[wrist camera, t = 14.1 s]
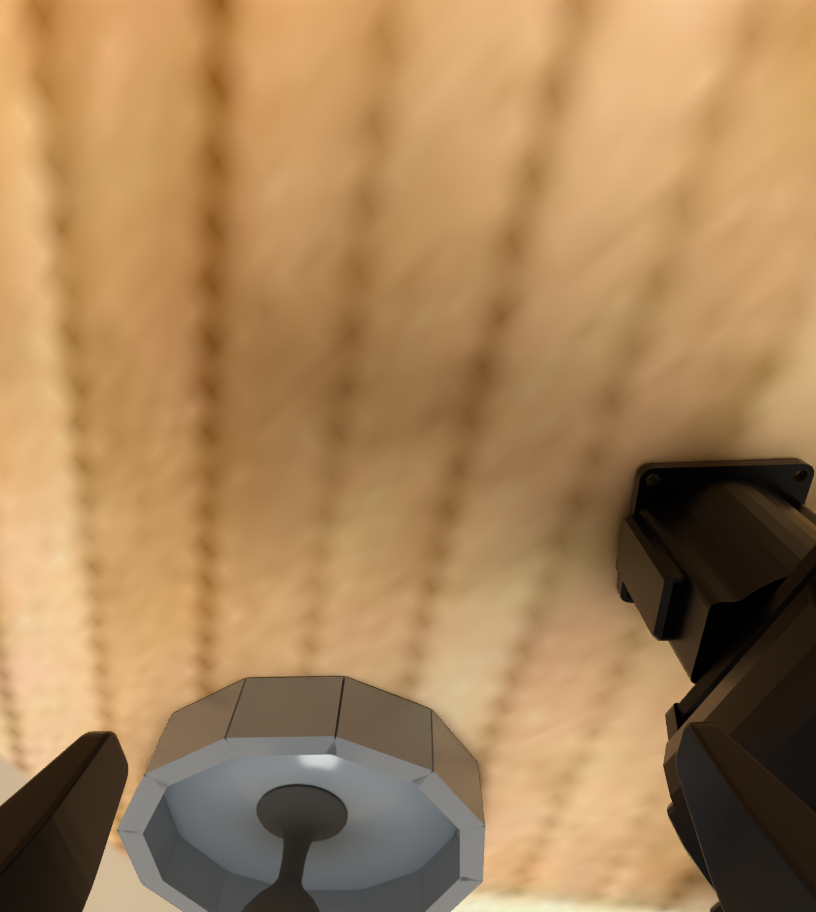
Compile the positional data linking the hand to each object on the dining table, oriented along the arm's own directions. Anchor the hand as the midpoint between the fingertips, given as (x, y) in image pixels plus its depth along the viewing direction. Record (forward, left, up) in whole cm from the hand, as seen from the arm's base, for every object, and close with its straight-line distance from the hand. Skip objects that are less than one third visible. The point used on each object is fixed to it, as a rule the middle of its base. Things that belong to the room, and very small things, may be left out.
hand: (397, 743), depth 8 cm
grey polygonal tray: (+6, +22, -13) cm, 26 cm away
